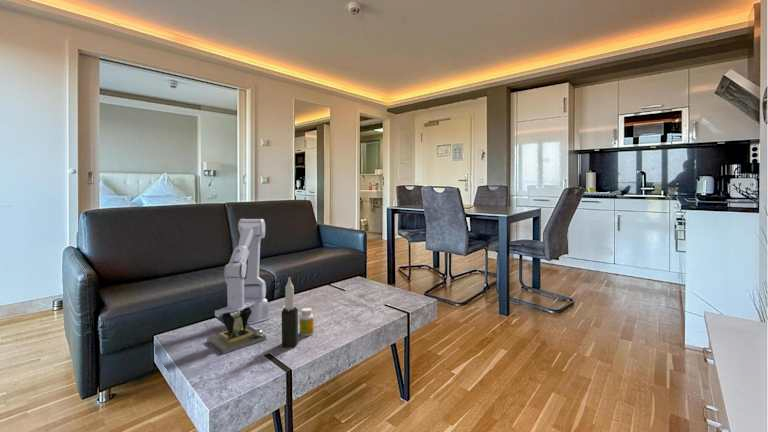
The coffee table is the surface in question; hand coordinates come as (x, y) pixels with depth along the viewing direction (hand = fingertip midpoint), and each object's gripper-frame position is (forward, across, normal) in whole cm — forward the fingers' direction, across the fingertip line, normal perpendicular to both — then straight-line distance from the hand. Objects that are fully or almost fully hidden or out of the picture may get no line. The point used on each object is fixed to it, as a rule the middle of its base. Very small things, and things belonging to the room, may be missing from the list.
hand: (236, 330), depth 128 cm
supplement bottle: (+4, +22, -13) cm, 26 cm away
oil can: (+2, 0, 0) cm, 2 cm away
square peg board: (+4, 0, 0) cm, 4 cm away
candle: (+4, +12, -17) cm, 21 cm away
